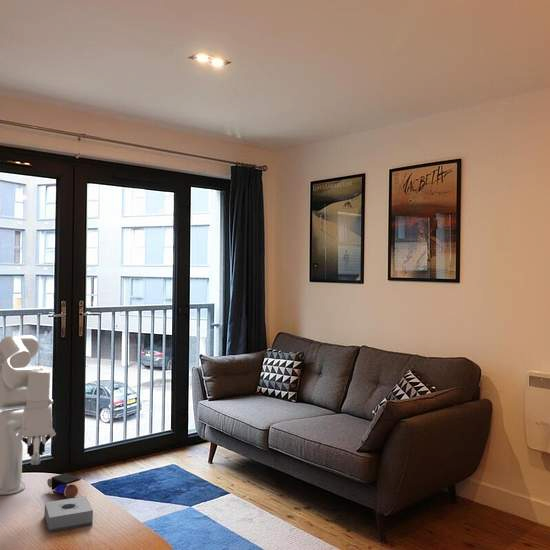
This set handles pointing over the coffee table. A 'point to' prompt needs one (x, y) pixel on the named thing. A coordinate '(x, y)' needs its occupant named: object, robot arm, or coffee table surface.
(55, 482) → the figurine character
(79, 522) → the bore block
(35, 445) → the aluminium pin
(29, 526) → the coffee table surface
